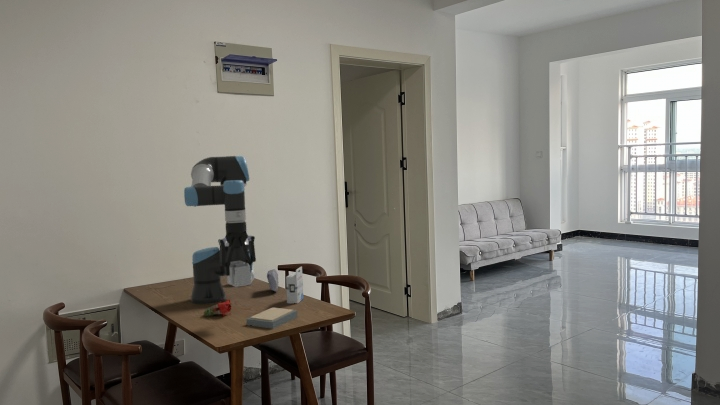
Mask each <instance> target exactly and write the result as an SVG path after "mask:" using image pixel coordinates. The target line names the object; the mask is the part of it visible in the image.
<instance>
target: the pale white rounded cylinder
mask: <svg viewBox="0 0 720 405" xmlns="http://www.w3.org/2000/svg"><path fill="white" fill-rule="evenodd" d="M254 280H255V266H254V264H253V266H252V271H251V284H252V283H253V281H254Z"/></svg>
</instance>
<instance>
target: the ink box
mask: <svg viewBox="0 0 720 405" xmlns="http://www.w3.org/2000/svg"><path fill="white" fill-rule="evenodd" d="M303 280H304V279H303V266H299V267H298V268H297V269H295V272H292V273H290V274H289V275H287V276H285V282H286V283H285V284H286V285H285V286H286V303H287V304H294V303H297V304H299V303H300V302H301V301H302V300H303V299H304V284H303V282H304V281H303Z"/></svg>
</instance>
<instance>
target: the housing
mask: <svg viewBox="0 0 720 405" xmlns="http://www.w3.org/2000/svg"><path fill="white" fill-rule="evenodd" d="M230 267H232V283H233V285H232V286H233V287H234V288H237V287H244V286H249V285H252V283H251V272H250V265H249V264H248V263H246V262H243V261H233V262H231V263H230ZM226 283H227V284H228V276H226Z"/></svg>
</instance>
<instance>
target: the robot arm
mask: <svg viewBox="0 0 720 405" xmlns="http://www.w3.org/2000/svg"><path fill="white" fill-rule="evenodd" d="M247 163H248V162H247V160H246V157H244V156H242V155H241V156H240V155H239V156H237V155H233V156H232V155H230V156H229V155H228V156H210V157H206V158H203V159H201V160H199V161H198V162H196V163H195V164H194V165H193V167H192V169H191V172H190V177H191V179H192V180H191V186H186V187H184V190H183V192H184V193H183V195H184V196H183V197H184V205H185V206H186V207H194V208H195V207H204V206H219V205H222V206H223V205H224V220H225V237H223V238H221V239H220V238H219V239H218V242H217V243H218V245H219V246H214V247H213V246H211V247H206V248H201V249H198V250H196V251H195V252H193V253H192V256H191V257H192V262H191V264H192V273H193V276H192V277H193V288H192V292H191V295H190V303H191V304H195V305H210V304H218V303H222V302H225V300H226V299H227V298H226V297H227V295H226V292H225V290H224V287H223V284H222V280H221V277H227V276H228V283H227V284H228V285H231V286H233V283H232V267H230V263H231V262H233V261H243V262H246V263H248V264H249V265H250V272H251V271H252V266H253V265H254V264H253V263H255V262H257V259H256V249H255V239H256V238H255V236H254V235H248V233H247V232H248V231H247V222H246V220H247V219H246V218H247V216H246V214H247V213H246V197H245V194H246V193H245V189H246V188H245V187H247V182H249V181H250V175H249V174H250V173H249V168H248V164H247ZM212 183H220V185H212ZM222 299H223V300H222Z"/></svg>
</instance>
